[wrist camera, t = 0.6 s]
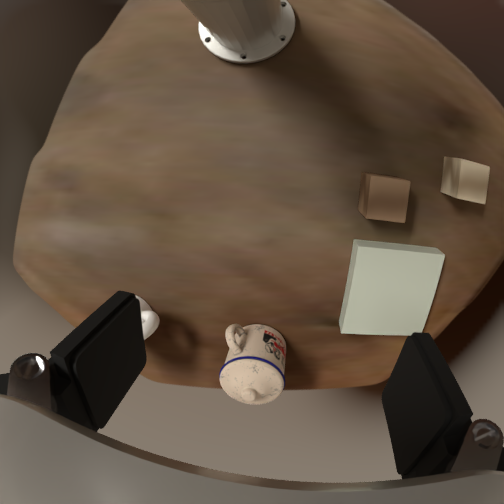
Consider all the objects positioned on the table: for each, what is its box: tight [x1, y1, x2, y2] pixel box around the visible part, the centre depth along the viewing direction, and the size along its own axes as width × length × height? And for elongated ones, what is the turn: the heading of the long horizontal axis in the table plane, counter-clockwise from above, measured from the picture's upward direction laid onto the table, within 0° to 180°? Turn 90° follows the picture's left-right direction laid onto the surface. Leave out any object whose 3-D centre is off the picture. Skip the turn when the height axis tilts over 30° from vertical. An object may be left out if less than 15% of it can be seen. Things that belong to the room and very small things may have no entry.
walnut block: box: [358, 172, 411, 223], centre depth 33 cm, size 5×5×5 cm
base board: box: [339, 239, 445, 335], centre depth 38 cm, size 13×13×3 cm
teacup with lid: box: [219, 324, 286, 404], centre depth 40 cm, size 12×9×12 cm
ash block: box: [440, 156, 490, 204], centre depth 31 cm, size 5×5×5 cm
